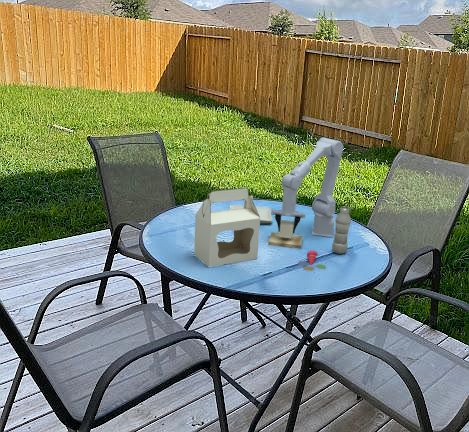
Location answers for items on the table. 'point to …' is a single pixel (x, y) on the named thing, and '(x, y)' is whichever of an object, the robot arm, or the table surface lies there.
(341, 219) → the plastic bottle
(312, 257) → the toy pieces
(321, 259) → the table surface
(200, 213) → the gable box
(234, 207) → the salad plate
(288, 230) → the pale matte cube
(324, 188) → the robot arm
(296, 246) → the plate
